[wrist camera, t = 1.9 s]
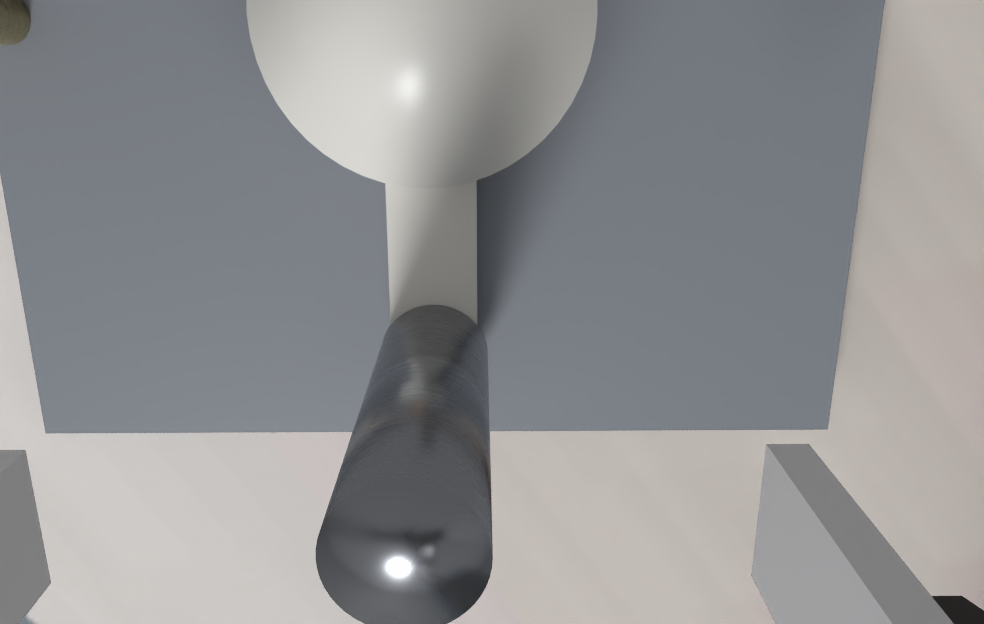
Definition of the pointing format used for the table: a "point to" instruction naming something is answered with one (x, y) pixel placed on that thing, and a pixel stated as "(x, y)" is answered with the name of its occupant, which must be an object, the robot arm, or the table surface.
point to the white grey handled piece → (421, 260)
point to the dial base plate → (500, 225)
